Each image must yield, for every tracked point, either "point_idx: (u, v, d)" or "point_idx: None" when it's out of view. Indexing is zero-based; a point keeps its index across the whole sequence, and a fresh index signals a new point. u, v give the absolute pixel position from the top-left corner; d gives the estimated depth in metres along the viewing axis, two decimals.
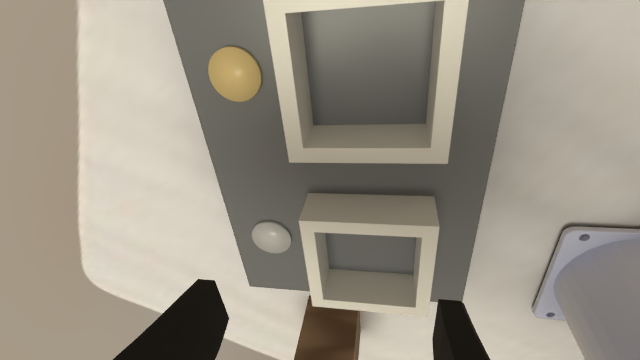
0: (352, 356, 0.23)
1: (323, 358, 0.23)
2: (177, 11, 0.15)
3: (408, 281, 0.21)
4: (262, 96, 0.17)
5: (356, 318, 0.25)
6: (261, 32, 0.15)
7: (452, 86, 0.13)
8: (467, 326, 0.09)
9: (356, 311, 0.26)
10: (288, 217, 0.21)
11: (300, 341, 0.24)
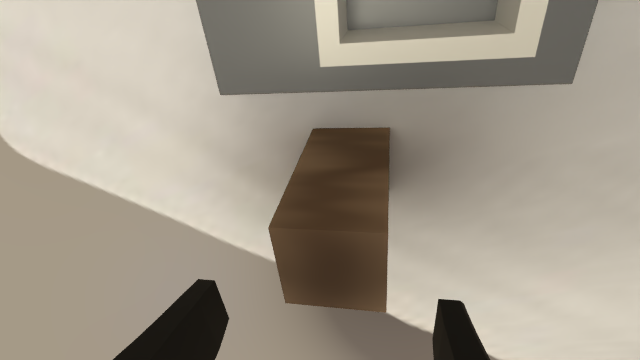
0: (386, 175, 0.14)
1: (337, 179, 0.14)
2: None
3: (488, 23, 0.12)
4: None
5: (387, 143, 0.16)
6: None
7: None
8: (467, 325, 0.09)
9: (386, 137, 0.16)
10: None
11: (299, 166, 0.15)
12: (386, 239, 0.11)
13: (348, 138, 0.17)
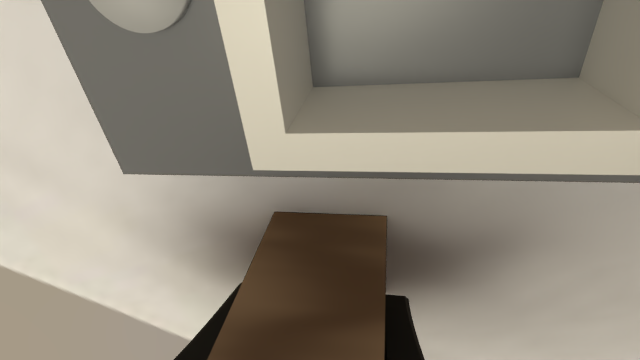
0: (380, 342, 0.08)
1: (295, 348, 0.08)
2: None
3: (573, 87, 0.06)
4: None
5: (383, 251, 0.10)
6: None
7: None
8: (406, 320, 0.09)
9: (382, 237, 0.11)
10: None
11: (238, 304, 0.09)
12: None
13: (323, 237, 0.11)
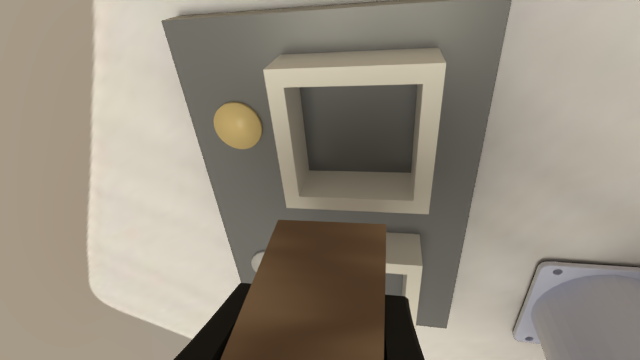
0: (380, 349, 0.08)
1: (300, 354, 0.08)
2: (186, 71, 0.17)
3: None
4: (262, 144, 0.19)
5: (383, 259, 0.11)
6: (262, 91, 0.17)
7: (431, 151, 0.14)
8: (405, 319, 0.09)
9: (382, 245, 0.11)
10: None
11: (245, 312, 0.10)
12: None
13: (325, 245, 0.11)
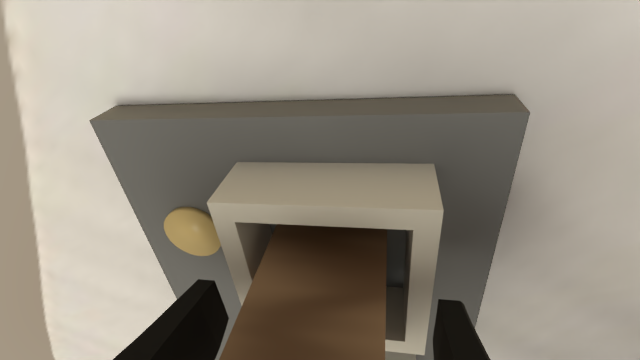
0: (382, 318, 0.09)
1: (307, 324, 0.09)
2: (126, 173, 0.14)
3: None
4: None
5: (384, 241, 0.11)
6: None
7: (426, 297, 0.11)
8: (467, 325, 0.09)
9: (383, 229, 0.12)
10: None
11: (254, 287, 0.10)
12: None
13: (330, 229, 0.12)
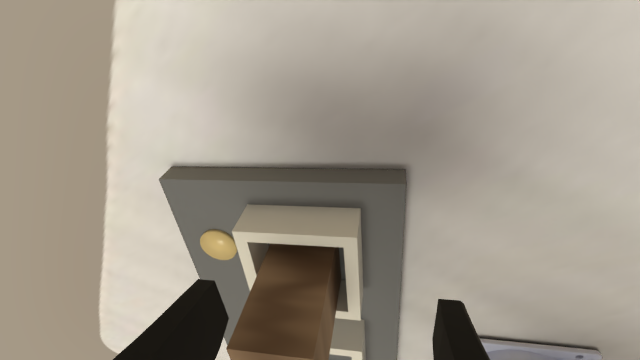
0: (324, 293, 0.17)
1: (285, 296, 0.17)
2: (178, 209, 0.22)
3: None
4: (238, 256, 0.24)
5: (332, 252, 0.20)
6: (235, 224, 0.22)
7: (355, 284, 0.20)
8: (467, 325, 0.09)
9: None
10: None
11: (258, 278, 0.19)
12: None
13: (302, 245, 0.20)
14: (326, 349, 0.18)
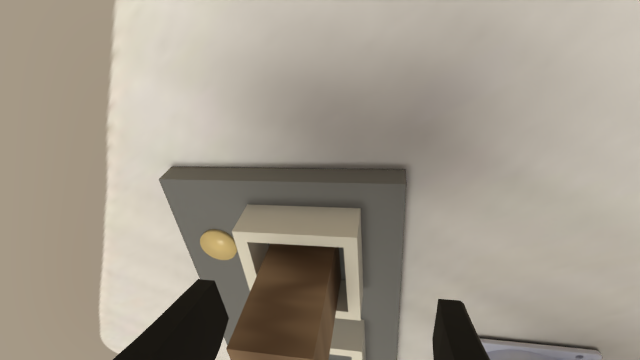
0: (323, 293, 0.17)
1: (285, 296, 0.17)
2: (178, 209, 0.22)
3: None
4: (238, 256, 0.24)
5: (332, 252, 0.20)
6: (235, 224, 0.22)
7: (355, 284, 0.20)
8: (467, 325, 0.09)
9: None
10: None
11: (258, 278, 0.19)
12: None
13: (302, 245, 0.20)
14: (326, 349, 0.18)
